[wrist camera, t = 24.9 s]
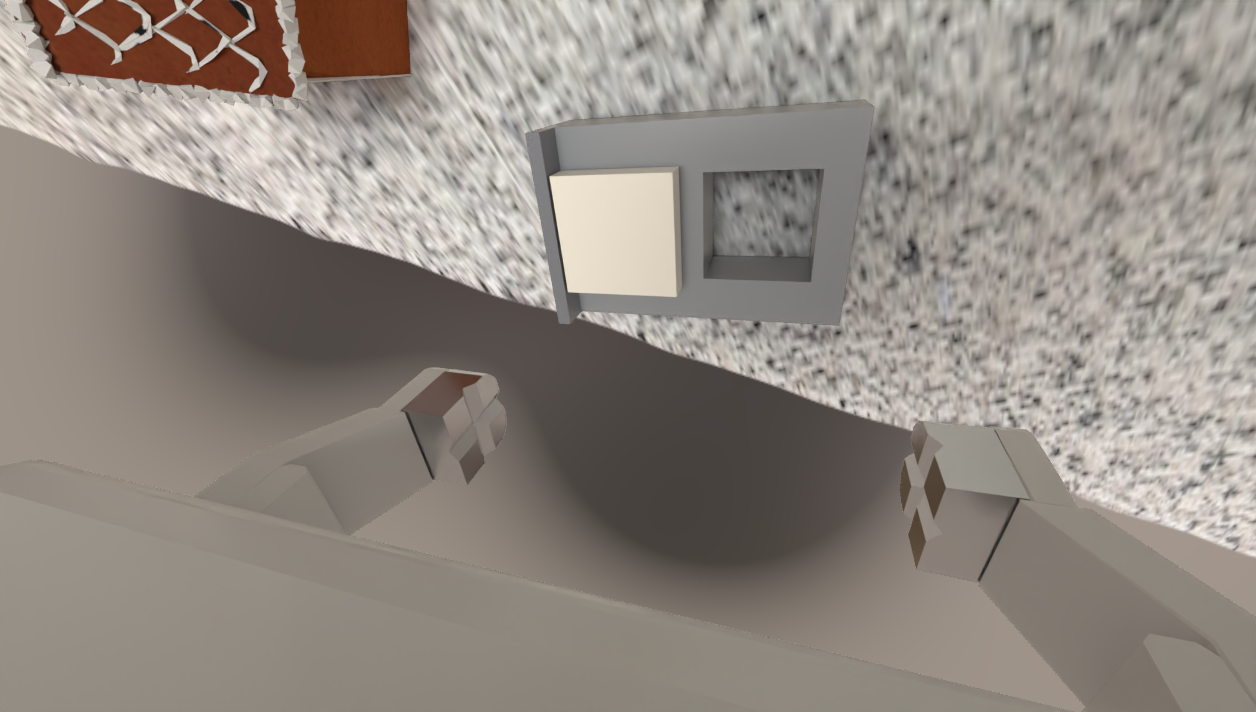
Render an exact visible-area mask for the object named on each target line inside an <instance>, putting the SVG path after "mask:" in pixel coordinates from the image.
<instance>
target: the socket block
mask: <svg viewBox="0 0 1256 712" xmlns="http://www.w3.org/2000/svg"><path fill="white" fill-rule="evenodd" d="M873 113H874V106H873V105H871V104H870V103H868V102H867V101H865V100H855V101H840V102H826V103H812V104H797V105H783V106H769V107H754V108H740V109H725V110H711V111H697V112H682V113H668V114H654V115H639V116H625V117H610V118H596V119H582V120H569V121H565V122H562V123H558V124H555V125H552V126H548V127H545V128H541V129H538V130H534V131H531V132H528V133H525V135H526V141H527V146H528V152H529V157H530V163H531V169H532V174H533V180H534V185H535V191H536V197H537V202H538V208H539V214H540V219H541V225H542V230H543V236H544V242H545V247H546V253H547V258H548V264H549V270H550V275H551V281H552V286H553V292H554V298H555V303H556V309H557V314H558V320H559V323H562V324H571V323H572V322H573V321H574V319H575V318H576V317H577V316H578V315H579V313H580V312H581V311H590V312H608V313H625V314H643V315H661V316H678V317H696V318H714V319H731V320H749V321H767V322H785V323H802V324H820V325H838V326H839V324H840V317H841V311H842V305H843V299H844V293H845V286H846V280H847V274H848V268H849V262H850V255H851V249H852V243H853V237H854V231H855V224H856V218H857V212H858V206H859V199H860V193H861V187H862V181H863V175H864V168H865V162H866V156H867V150H868V144H869V137H870V131H871V125H872V119H873ZM674 166H679V190H680V226H681V261H682V287H681V289H680V291H679V293H678V295H677V297H664V296H641V295H619V294H596V293H574V292H568V289H567V282H566V276H565V270H564V264H563V258H562V252H561V245H560V239H559V233H558V227H557V221H556V214H555V208H554V202H553V196H552V190H551V183H550V177H549V176H551V175H553V174H555V173H557V172H559V171H565V170H592V169H619V168H647V167H674ZM796 169H820V171H819V180H818V188H817V197H816V206H815V214H814V223H813V232H812V240H811V249H810V257H759V256H713V199H714V172H734V171H765V170H796Z"/></svg>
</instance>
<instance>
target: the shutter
mask: <svg viewBox="0 0 1256 712" xmlns="http://www.w3.org/2000/svg"><path fill="white" fill-rule="evenodd" d="M549 177H550V183H551V190H552V196H553V202H554V208H555V214H556V221H557V227H558V233H559V239H560V245H561V252H562V258H563V264H564V270H565V276H566V282H567V289H568V292H574V293H596V294H619V295H641V296H664V297H677V295H678V293H679V291H680V289H681V287H682V261H681V226H680V190H679V166H674V167H647V168H619V169H592V170H565V171H559V172H557V173H555V174H553V175H551V176H549Z"/></svg>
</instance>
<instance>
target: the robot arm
mask: <svg viewBox="0 0 1256 712" xmlns="http://www.w3.org/2000/svg"><path fill="white" fill-rule="evenodd" d="M498 393H499V388H498V384H497V381H496V378H494V377H493V376H491V375H489V374H484V373H476V372H468V371H461V370H450V369H444V368H435V367H433V368H428V369H425V370H424V371H423V372H421V373H420V374H419V375H418V376H417V377H415V378H414V379H413V380H412V381H411V382H409V383H408V384H407V385H406V386H405V387H403V388H402V389H401V390H400V391H399V392H397V393H396V394H395V395H394V396H393V397H391V398H390V399H389V400H388V401H387V402H385V403H384V404H383V405H382V406H381V407H379V408H370V409H368V410H365V411H363V412H360V413H357V414H355V415H352V416H350V417H347V418H344V419H342V420H339V421H337V422H334V423H331V424H329V425H326V426H324V427H321V428H319V429H316V430H313V431H311V432H308V433H306V434H303V435H300V436H298V437H295V438H292V439H290V440H287V441H285V442H282V443H280V444H277V445H275V446H272V447H269V448H266V449H264V450H261V451H259V452H256V453H254V454H251V455H250V456H249V457H248V458H246V459H244V460H243V461H242V462H240V463H239V464H238V465H236V466H235V467H233V468H232V469H231V470H230V471H228V472H227V473H225V474H224V475H223V476H221V477H220V478H218V479H217V480H216V481H214V482H213V483H212V484H210V485H209V486H207V487H206V488H205V489H203V490H202V491H201V492H199V493H198V494H197V495H195V496H194V497H192V496H188V495H184V494H180V493H175V492H171V491H168V490H163V489H159V488H155V487H151V486H147V485H143V484H138V483H134V482H130V481H126V480H122V479H118V478H114V477H110V476H106V475H102V474H97V473H93V472H89V471H85V470H81V469H77V468H73V467H70V466H66V465H63V464H59V463H55V462H49V461H43V460H28V461H22V462H17V463H12V464H8V465H4V466H0V712H1073V711H1069V710H1065V709H1060V708H1057V707H1052V706H1048V705H1044V704H1040V703H1036V702H1032V701H1028V700H1024V699H1020V698H1016V697H1012V696H1008V695H1003V694H999V693H995V692H991V691H987V690H983V689H979V688H975V687H971V686H966V685H962V684H958V683H954V682H950V681H946V680H942V679H938V678H934V677H930V676H926V675H922V674H917V673H913V672H909V671H905V670H901V669H897V668H893V667H889V666H884V665H881V664H876V663H872V662H868V661H864V660H860V659H856V658H852V657H848V656H844V655H840V654H836V653H831V652H827V651H823V650H819V649H815V648H811V647H807V646H803V645H798V644H794V643H790V642H786V641H782V640H778V639H774V638H770V637H765V636H761V635H757V634H753V633H749V632H745V631H741V630H736V629H732V628H728V627H724V626H720V625H716V624H712V623H708V622H704V621H700V620H696V619H692V618H687V617H683V616H679V615H675V614H671V613H666V612H662V611H659V610H654V609H650V608H646V607H642V606H638V605H634V604H629V603H626V602H622V601H618V600H614V599H610V598H606V597H601V596H597V595H593V594H589V593H585V592H581V591H577V590H573V589H569V588H565V587H561V586H557V585H552V584H548V583H544V582H540V581H536V580H532V579H528V578H524V577H520V576H516V575H512V574H507V573H503V572H499V571H495V570H491V569H487V568H483V567H479V566H475V565H471V564H466V563H462V562H458V561H454V560H450V559H446V558H442V557H438V556H434V555H430V554H426V553H422V552H418V551H413V550H409V549H405V548H401V547H397V546H393V545H389V544H384V543H380V542H377V541H372V540H368V539H364V538H360V537H356V536H352V535H351V534H353V533H354V532H355V531H357V530H359V529H360V528H362V527H364V526H365V525H367V524H368V523H370V522H371V521H373V520H374V519H376V518H377V517H379V516H381V515H382V514H384V513H385V512H387V511H388V510H390V509H392V508H393V507H395V506H396V505H398V504H399V503H401V502H402V501H404V500H405V499H407V498H409V497H410V496H412V495H413V494H415V493H416V492H418V491H420V490H421V489H423V488H424V487H426V486H427V485H429V484H430V483H432V482H433V480H437V481H443V482H450V483H456V484H463V485H468V484H469V483H470V481H471V480H472V479H473V477H474V476H475V475H476V474H477V472H478V471H479V470H480V468H481V467H482V466H483V465H484V463H485V462H484V461H485V460H484V455H485V454H486V453H488V452H490V451H492V450H494V449H496V448H497V446H498V445H499V443H500V442H501V441H502V439H503V436H504V433H505V430H506V413H505V409H504V407H503V406H502V405H501V403H500V402H499V401H498V400H497V399H496V397H497V395H498ZM910 439H911V443H912V447H913V451H914V453H913V454H911V455H910V456H908V457H907V458H905V460H904V463H903V467H902V471H901V480H900V497H901V504H902V509H903V513H904V514H905V515H906V516H907V517H908V518H909V519H910V520H911V521H912V524H911V527H910V530H909V534H908V536H909V540H910V544H911V549H912V553H913V557H914V562H915V565H916V569H917V570H921V571H926V572H930V573H935V574H940V575H945V576H949V577H954V578H959V579H963V580H968V581H973V582H978V583H979V587H980V588H981V589H982V590H983V591H984V592H985V593H986V594H987V596H988V597H989V598H990V599H991V600H992V601H993V602H994V603H995V605H996V606H997V607H998V608H999V609H1000V610H1001V611H1002V613H1003V614H1004V615H1005V616H1006V617H1007V618H1008V619H1009V621H1010V622H1011V623H1012V624H1013V625H1014V626H1015V627H1016V629H1017V630H1018V631H1019V632H1020V633H1021V634H1022V635H1023V637H1024V638H1025V639H1026V640H1027V641H1028V642H1029V643H1030V644H1031V646H1032V647H1033V648H1034V649H1035V650H1036V651H1037V652H1038V653H1039V655H1040V656H1041V657H1042V658H1043V659H1044V660H1045V661H1046V663H1047V664H1048V665H1049V666H1050V667H1051V668H1052V669H1053V671H1055V673H1056V674H1057V675H1058V676H1059V677H1060V678H1061V680H1062V681H1063V682H1064V683H1065V684H1066V685H1067V686H1068V688H1069V689H1070V690H1071V691H1072V692H1073V693H1074V694H1075V695H1076V697H1077V698H1078V699H1079V700H1080V701H1081V702H1082V703H1083V705H1084V706H1085V709H1084V710H1083V711H1082V712H1256V617H1255V616H1254V615H1252V614H1251V613H1249V612H1248V611H1246V610H1245V609H1243V608H1242V607H1240V606H1239V605H1237V604H1236V603H1234V602H1233V601H1231V600H1230V599H1228V598H1226V597H1225V596H1223V595H1222V594H1220V593H1219V592H1217V591H1215V590H1214V589H1213V588H1211V587H1210V586H1208V585H1207V584H1205V583H1203V582H1202V581H1200V580H1199V579H1197V578H1196V577H1194V576H1193V575H1191V574H1190V573H1188V572H1187V571H1185V570H1184V569H1182V568H1180V567H1179V566H1178V565H1176V564H1174V563H1173V562H1171V561H1170V560H1168V559H1167V558H1165V557H1164V556H1162V555H1161V554H1159V553H1158V552H1156V551H1155V550H1153V549H1152V548H1150V547H1149V546H1147V545H1145V544H1144V543H1142V542H1141V541H1139V540H1138V539H1136V538H1135V537H1133V536H1132V535H1130V534H1128V533H1127V532H1126V531H1124V530H1123V529H1121V528H1119V527H1118V526H1116V525H1115V524H1113V523H1112V522H1110V521H1109V520H1107V519H1105V518H1104V517H1102V516H1101V515H1100V514H1098V513H1097V512H1095V511H1094V510H1090V509H1084V508H1079V507H1078V505H1077V503H1076V502H1075V500H1074V498H1073V497H1072V495H1071V494H1070V492H1069V490H1068V489H1067V487H1066V486H1065V484H1064V482H1063V481H1062V479H1061V478H1060V476H1059V474H1058V473H1057V471H1056V470H1055V468H1054V467H1053V465H1052V463H1051V462H1050V460H1049V459H1048V457H1047V455H1046V454H1045V452H1044V451H1043V449H1042V447H1041V446H1040V444H1039V443H1038V441H1037V439H1036V438H1035V436H1034V435H1033V434H1032V433H1031V432H1029V431H1028V430H1025V429H1013V428H1001V427H978V426H968V425H958V424H949V423H939V422H929V421H919V420H918V421H917V423H916V425H915V426H914V429H913V432H912V435H911V438H910Z"/></svg>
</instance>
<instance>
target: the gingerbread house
mask: <svg viewBox="0 0 1256 712" xmlns="http://www.w3.org/2000/svg"><path fill="white" fill-rule="evenodd" d="M5 2H6V6H5V7H4V9H6V10H7V11H8V12H9V13H10V15H11V17H12V19H13V22H11V23H12V24H13V25H14V26H15V27H16V28H17V30H18V32H19V34H20V35H21V37H22V38H23V40H24V41H25V43H26V47H28V48H29V51H28V53H27V55H28V56H30V57H31V58H32V59H33V60H34V63H33V64H32V65H31V66H30V68H32V69H33V70H35V71H36V72H38V73H39V74H41V75H42V76H44V77H45V78H50V79H52V80H54V81H56V82H58V83H59V84H60V85H62V86H63V85H65V86H70V84H71V83H72V84H75V85H78V86H81V85H84V84H85V85H86V86H87V87H88V88H89V89H93V90H96V91H98V90H100V91H103V90H107V89H110V88H113V89H114V90H115V91H116V92H119V93H122V94H125V95H126V92H127V91H130V92H134V93H138V94H140V93H141V92H143V91H144V93H145V94H146V95H147V96H148V98H149V97H150V96H151V94H152V93H153V92H154V93H155V94H156V96H157V97H158V98H159V97H164V96H168V95H170V94H171V95H172V96H173V97H175V98H177V99H180V100H182V99H183V98H184V100H187V99H192V98H196V97H198V98H199V99H200V101H201V102H202V103H204V101H205V100H206V99H207V98H208V99H209V100H210V102H224V103H227V104H230V105H233V106H234V103H235V102H240V103H244V104H248V105H250V106H255V107H260V108H265V107H272V106H273V108H277V109H284V110H286V111H290V110H294V109H298V107H299V103H298V100H297V99H301V100H304V101H307V86H308V83H316V82H331V81H346V80H361V79H375V78H390V77H406V76H412V74H411V70H410V53H409V36H408V18H407V1H406V0H5ZM136 81H137V82H138V83H137V82H136ZM194 87H195V88H194Z"/></svg>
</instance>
